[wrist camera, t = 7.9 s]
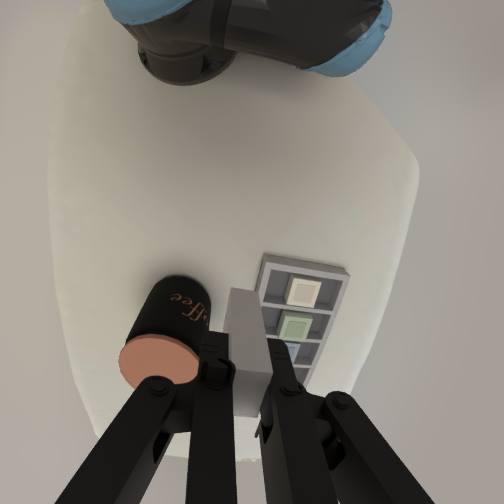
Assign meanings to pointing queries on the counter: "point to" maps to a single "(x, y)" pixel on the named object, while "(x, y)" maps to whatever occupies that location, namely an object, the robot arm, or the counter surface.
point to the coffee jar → (167, 333)
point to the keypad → (323, 313)
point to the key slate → (292, 348)
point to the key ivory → (302, 290)
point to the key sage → (294, 325)
